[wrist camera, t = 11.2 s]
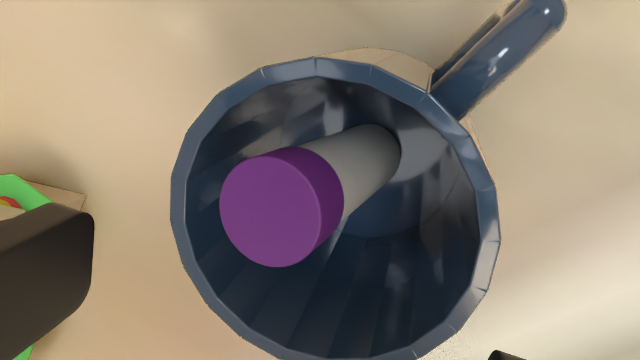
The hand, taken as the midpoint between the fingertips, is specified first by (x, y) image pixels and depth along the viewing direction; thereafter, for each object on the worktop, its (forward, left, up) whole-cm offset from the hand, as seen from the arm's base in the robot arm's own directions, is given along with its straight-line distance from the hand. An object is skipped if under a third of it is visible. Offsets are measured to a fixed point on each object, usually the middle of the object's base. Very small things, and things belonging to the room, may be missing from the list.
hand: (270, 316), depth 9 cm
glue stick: (0, 0, -13) cm, 13 cm away
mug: (+1, +2, -14) cm, 14 cm away
